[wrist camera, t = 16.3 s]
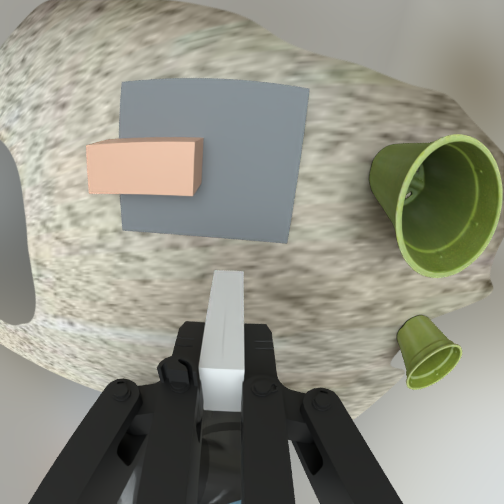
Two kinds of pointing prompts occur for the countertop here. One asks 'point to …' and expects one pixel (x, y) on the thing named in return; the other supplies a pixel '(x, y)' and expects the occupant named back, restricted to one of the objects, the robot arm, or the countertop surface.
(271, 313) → the countertop surface
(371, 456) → the robot arm
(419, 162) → the plant pot
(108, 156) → the block
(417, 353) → the plant pot
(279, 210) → the mat
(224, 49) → the countertop surface
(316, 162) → the countertop surface
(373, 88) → the countertop surface
